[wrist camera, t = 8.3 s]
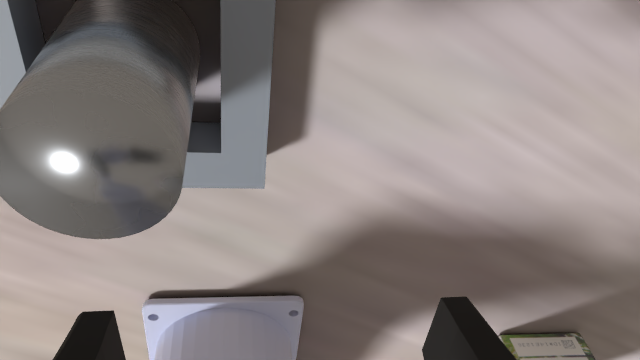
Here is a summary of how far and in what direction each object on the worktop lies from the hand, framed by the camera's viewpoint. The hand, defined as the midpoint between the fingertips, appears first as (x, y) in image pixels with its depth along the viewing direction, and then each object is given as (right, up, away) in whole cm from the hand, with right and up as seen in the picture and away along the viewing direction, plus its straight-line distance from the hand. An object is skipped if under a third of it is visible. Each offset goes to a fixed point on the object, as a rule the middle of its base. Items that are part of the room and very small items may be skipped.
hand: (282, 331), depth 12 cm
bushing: (-6, +8, +6) cm, 11 cm away
